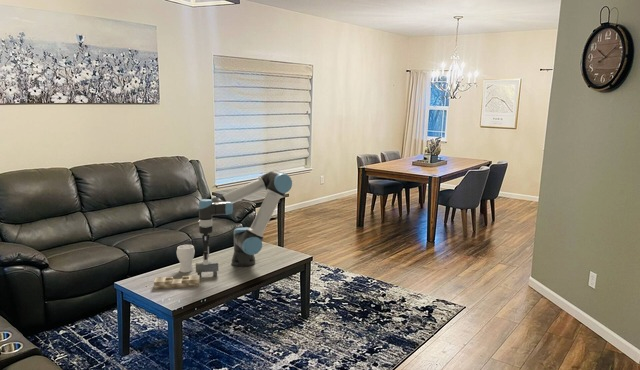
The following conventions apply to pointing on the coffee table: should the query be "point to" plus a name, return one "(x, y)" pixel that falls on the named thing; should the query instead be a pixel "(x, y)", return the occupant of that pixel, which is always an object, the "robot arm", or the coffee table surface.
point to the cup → (185, 257)
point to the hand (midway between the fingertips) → (206, 260)
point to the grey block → (207, 268)
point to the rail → (176, 282)
